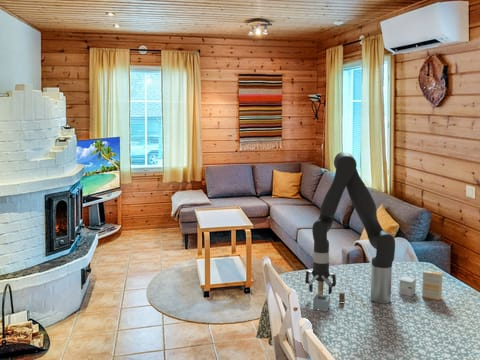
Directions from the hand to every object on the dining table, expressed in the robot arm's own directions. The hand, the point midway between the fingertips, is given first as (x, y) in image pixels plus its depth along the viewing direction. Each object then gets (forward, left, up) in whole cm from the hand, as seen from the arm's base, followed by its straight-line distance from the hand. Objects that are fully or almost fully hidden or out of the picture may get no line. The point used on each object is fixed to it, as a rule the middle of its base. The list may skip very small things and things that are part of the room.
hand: (320, 292), depth 212 cm
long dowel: (0, 0, -4) cm, 4 cm away
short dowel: (0, +10, -4) cm, 11 cm away
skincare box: (-21, +39, -4) cm, 45 cm away
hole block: (+9, +2, -4) cm, 10 cm away
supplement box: (-19, +50, -4) cm, 54 cm away
